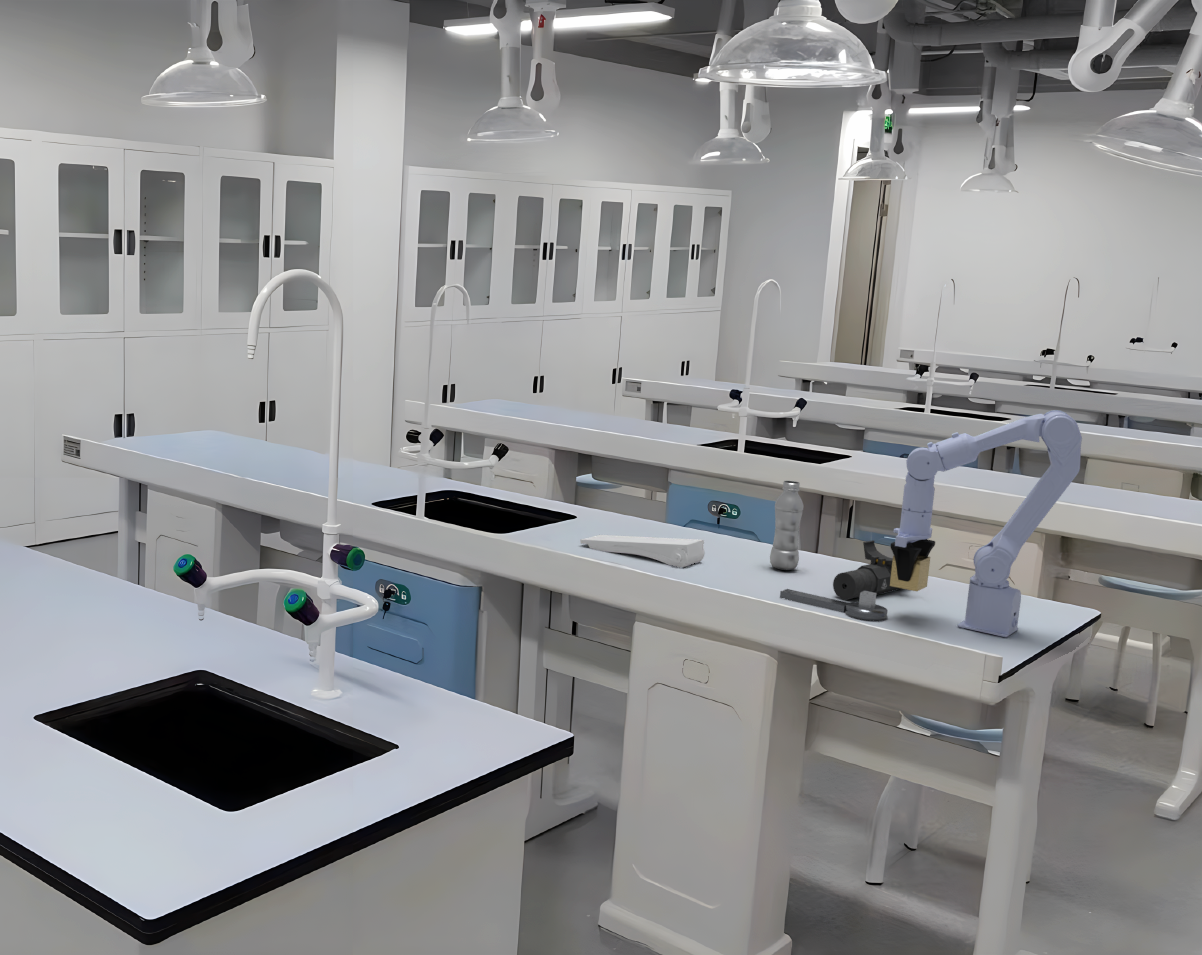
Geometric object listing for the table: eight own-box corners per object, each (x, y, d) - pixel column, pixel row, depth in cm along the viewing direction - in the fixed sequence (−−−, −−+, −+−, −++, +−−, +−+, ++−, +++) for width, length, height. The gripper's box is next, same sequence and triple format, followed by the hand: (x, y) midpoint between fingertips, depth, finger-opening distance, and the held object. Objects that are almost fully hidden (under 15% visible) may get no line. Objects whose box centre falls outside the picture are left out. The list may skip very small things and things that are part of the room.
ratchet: (892, 616, 230) (895, 593, 229) (877, 624, 223) (879, 600, 223) (791, 593, 242) (793, 571, 242) (774, 600, 236) (776, 577, 235)
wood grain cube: (927, 586, 229) (930, 556, 228) (916, 591, 225) (920, 561, 224) (900, 581, 232) (903, 551, 231) (889, 585, 228) (893, 555, 227)
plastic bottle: (776, 573, 259) (784, 484, 256) (763, 565, 265) (772, 479, 262) (802, 573, 261) (811, 485, 258) (790, 565, 267) (798, 479, 264)
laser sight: (823, 595, 243) (828, 548, 242) (882, 581, 259) (887, 537, 257) (863, 606, 236) (868, 558, 235) (921, 592, 252) (926, 546, 250)
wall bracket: (582, 571, 272) (688, 578, 257) (576, 542, 270) (683, 547, 255) (603, 554, 280) (708, 560, 265) (598, 526, 278) (703, 530, 263)
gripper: (910, 502, 234) (903, 568, 236) (883, 510, 223) (875, 579, 225) (945, 508, 230) (937, 574, 232) (918, 516, 219) (911, 587, 221)
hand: (909, 577), depth 228 cm, fingers closed on wood grain cube, 5 cm apart
